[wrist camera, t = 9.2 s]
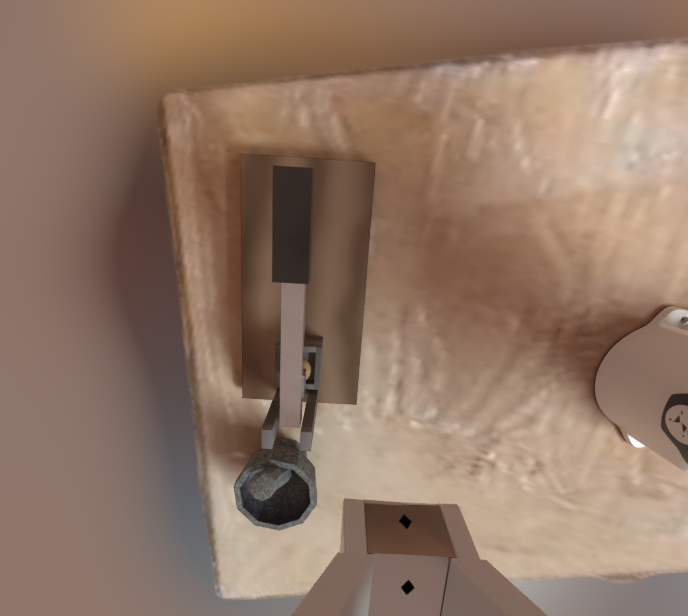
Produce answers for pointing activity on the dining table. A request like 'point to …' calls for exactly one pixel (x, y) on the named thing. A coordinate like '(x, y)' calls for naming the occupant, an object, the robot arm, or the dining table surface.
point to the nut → (307, 368)
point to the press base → (321, 293)
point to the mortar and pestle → (277, 486)
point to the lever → (292, 278)
